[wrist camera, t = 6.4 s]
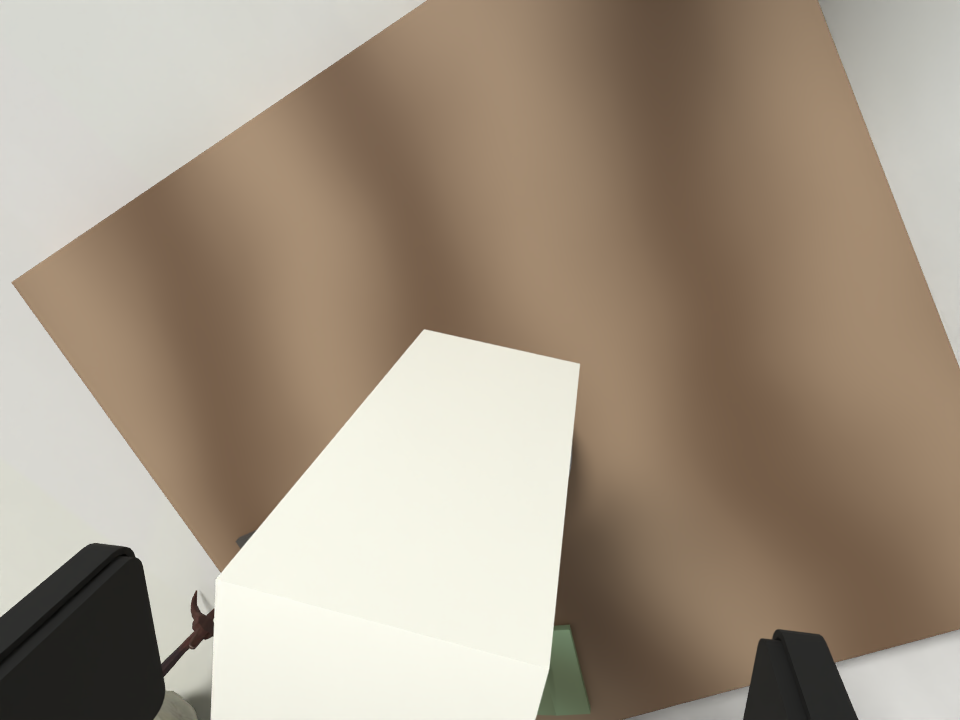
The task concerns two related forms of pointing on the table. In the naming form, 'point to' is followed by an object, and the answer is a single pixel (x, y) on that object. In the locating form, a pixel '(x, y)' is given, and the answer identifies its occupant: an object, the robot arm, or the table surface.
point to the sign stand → (410, 551)
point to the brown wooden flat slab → (566, 319)
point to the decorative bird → (175, 711)
